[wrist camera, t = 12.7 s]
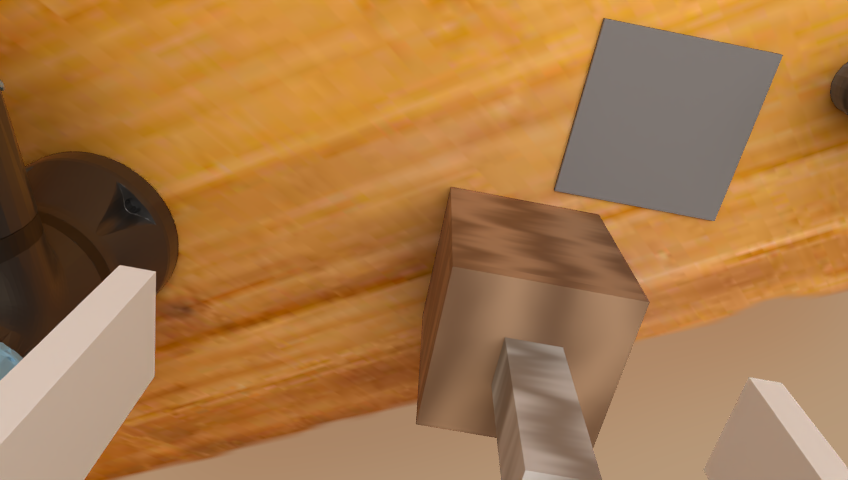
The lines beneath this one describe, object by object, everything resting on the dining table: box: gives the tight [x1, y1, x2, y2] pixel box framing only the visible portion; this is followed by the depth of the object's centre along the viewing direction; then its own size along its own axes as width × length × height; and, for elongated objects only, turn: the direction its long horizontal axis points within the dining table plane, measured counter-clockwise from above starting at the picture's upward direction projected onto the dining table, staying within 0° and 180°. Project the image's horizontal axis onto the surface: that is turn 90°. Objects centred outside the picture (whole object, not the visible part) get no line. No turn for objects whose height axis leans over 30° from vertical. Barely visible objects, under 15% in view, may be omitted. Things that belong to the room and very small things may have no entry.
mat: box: [554, 18, 783, 221], centre depth 51 cm, size 14×14×1 cm
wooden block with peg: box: [416, 187, 650, 480], centre depth 45 cm, size 13×13×27 cm
